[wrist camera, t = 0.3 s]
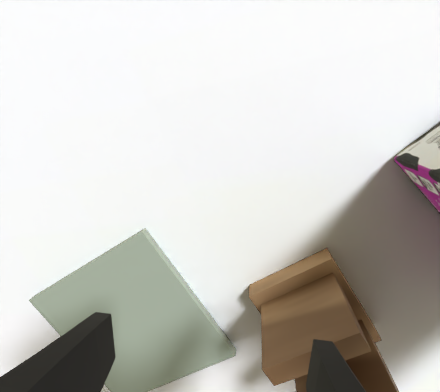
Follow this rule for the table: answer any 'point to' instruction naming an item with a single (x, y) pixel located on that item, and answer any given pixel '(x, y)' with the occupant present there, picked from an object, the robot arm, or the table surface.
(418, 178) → the candy bar box
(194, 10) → the table surface
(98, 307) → the mat
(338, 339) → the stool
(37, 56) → the table surface
